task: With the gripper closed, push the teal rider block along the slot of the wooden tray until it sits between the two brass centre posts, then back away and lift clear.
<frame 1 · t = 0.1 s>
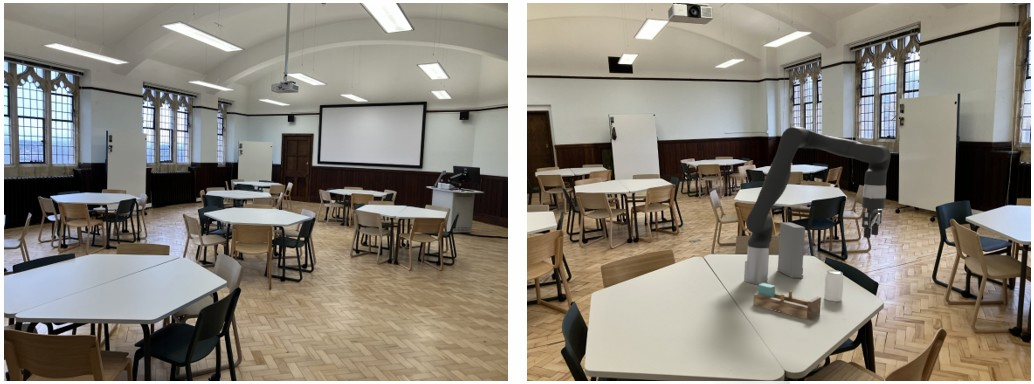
hand: (870, 236, 207), 29 cm above the table, tool pointing down, fingers open, 8 cm apart
rider: (766, 291, 214), point 6 cm above the table, slide at 0.0 cm
can: (832, 300, 220), on the table
wooden tray: (785, 309, 208), on the table
tall upright block: (790, 274, 259), on the table
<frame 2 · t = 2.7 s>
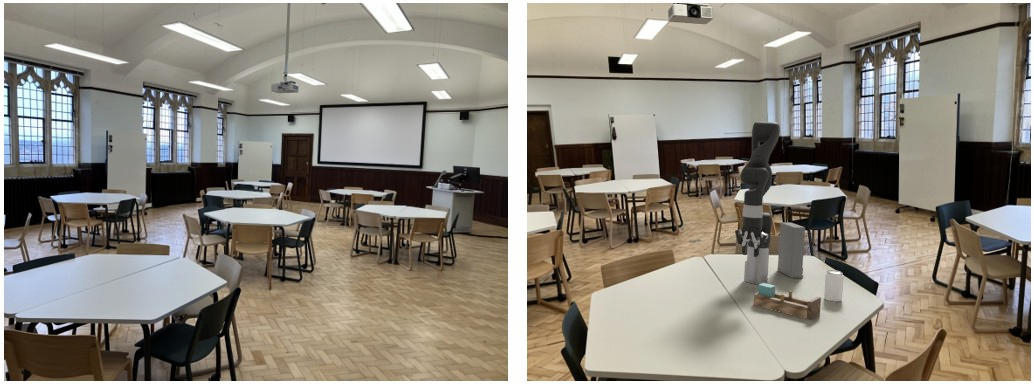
hand: (750, 255, 218), 19 cm above the table, tool pointing down, fingers open, 4 cm apart
nothing on the table moved.
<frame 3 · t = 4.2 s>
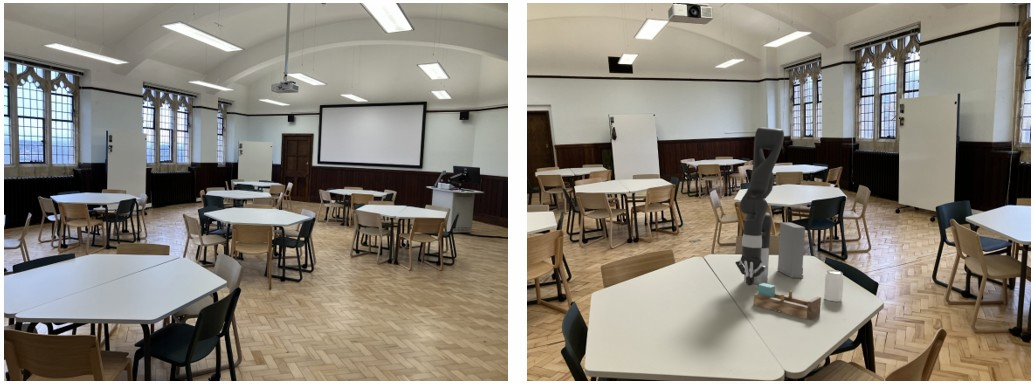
hand: (749, 285, 219), 6 cm above the table, tool pointing down, fingers closed
nothing on the table moved.
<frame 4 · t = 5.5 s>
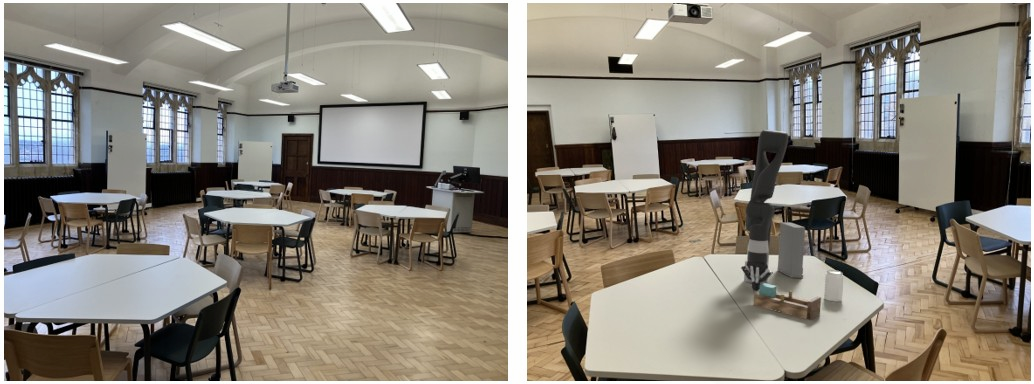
hand: (755, 290, 217), 5 cm above the table, tool pointing down, fingers closed
rider: (767, 291, 213), point 6 cm above the table, slide at 0.6 cm, touching gripper
everything else where it was.
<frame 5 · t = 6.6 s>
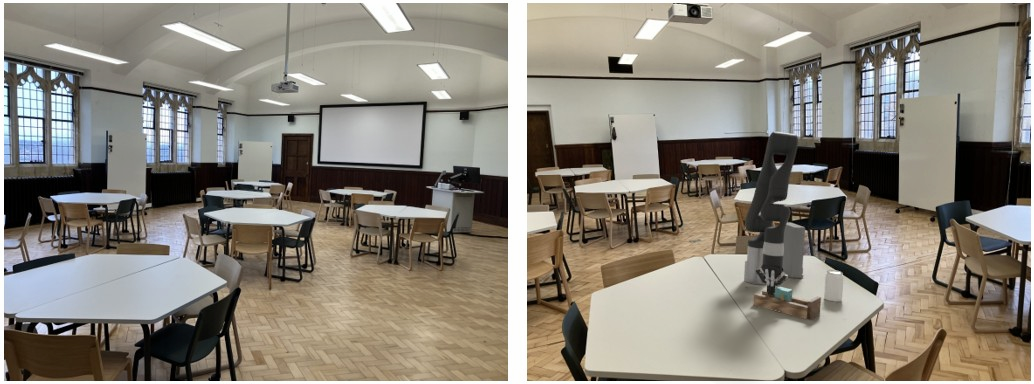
hand: (770, 294, 212), 5 cm above the table, tool pointing down, fingers closed
rider: (783, 295, 208), point 6 cm above the table, slide at 6.8 cm, touching gripper
everything else where it was.
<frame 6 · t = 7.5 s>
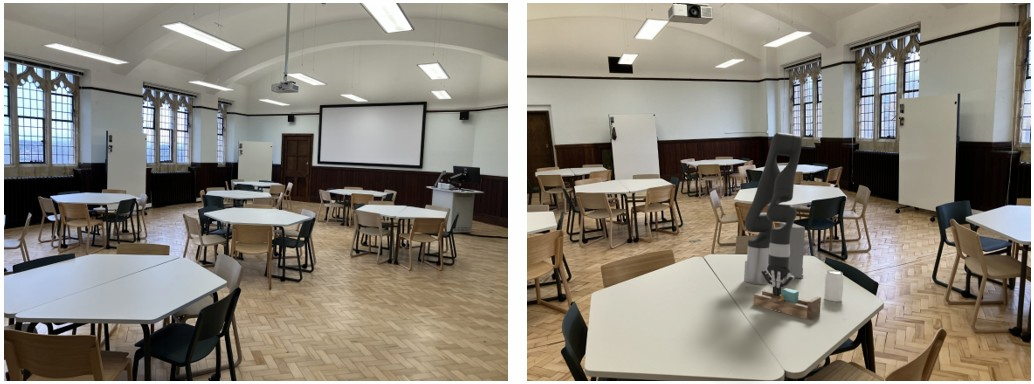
hand: (776, 295, 210), 5 cm above the table, tool pointing down, fingers closed
rider: (789, 296, 206), point 6 cm above the table, slide at 9.2 cm, touching gripper
everything else where it was.
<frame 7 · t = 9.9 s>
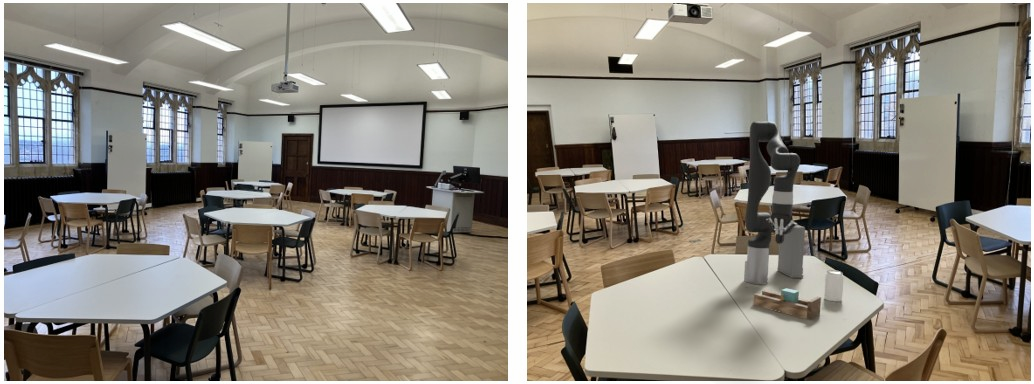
hand: (779, 243, 214), 25 cm above the table, tool pointing down, fingers closed
rider: (789, 296, 206), point 6 cm above the table, slide at 9.2 cm
everything else where it was.
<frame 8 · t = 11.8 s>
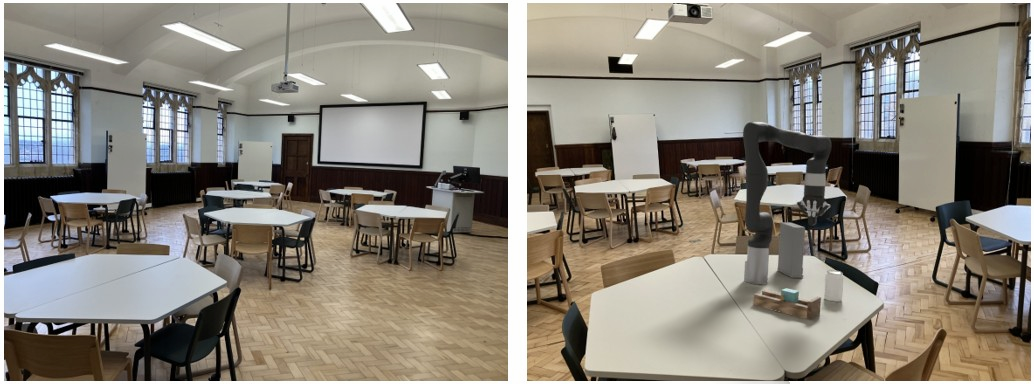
hand: (812, 225, 217), 32 cm above the table, tool pointing down, fingers closed
nothing on the table moved.
at the end: rider slide at 9.2 cm; the gripper is holding nothing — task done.
